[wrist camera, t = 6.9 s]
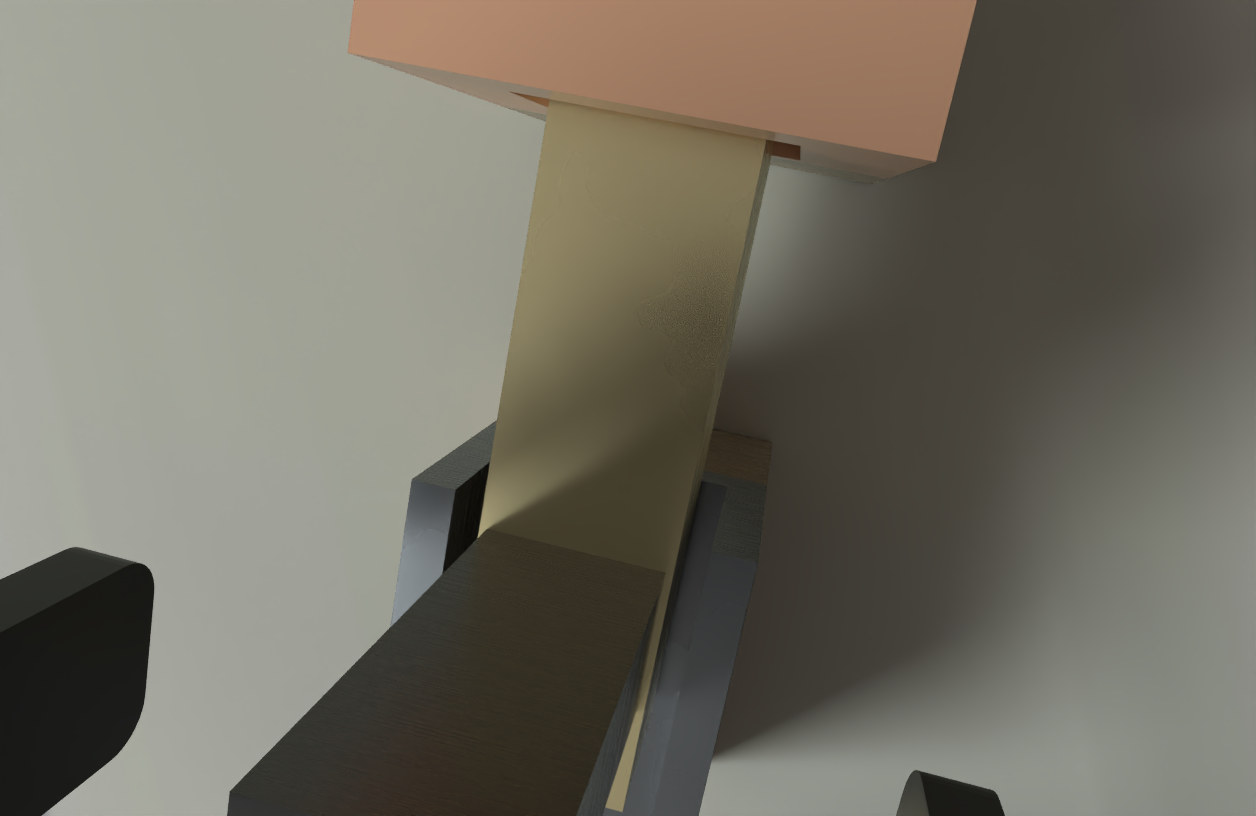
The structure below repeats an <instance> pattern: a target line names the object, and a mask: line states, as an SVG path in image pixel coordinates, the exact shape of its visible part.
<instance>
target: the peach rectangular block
mask: <svg viewBox="0 0 1256 816" xmlns="http://www.w3.org/2000/svg"><path fill="white" fill-rule="evenodd" d="M976 2H977V0H354V5H353V13H352V22H351V30H350V39H349V47H348V53H350V54H353V55H356V56H359V57H361V58H364V59H367V60H370V61H373V62H376V63H379V64H382V65H384V66H387V67H390V68H393V69H396V70H399V71H402V72H405V73H408V74H410V75H413V76H416V77H419V78H422V79H425V80H428V81H431V82H433V83H436V84H439V85H442V86H445V87H448V88H451V89H454V90H456V91H459V92H462V93H465V94H468V95H471V96H474V97H477V98H479V99H482V100H485V101H488V102H491V103H494V104H497V105H500V106H503V107H505V108H508V109H511V110H514V111H517V112H520V113H523V114H526V115H528V116H531V117H534V118H537V119H540V120H543V121H546V119H547V113H548V107H549V100H550V99H552V100H558V101H563V102H568V103H574V104H579V105H584V106H590V107H595V108H601V109H606V110H611V111H617V112H622V113H627V114H633V115H638V116H643V117H649V118H654V119H659V120H665V121H670V122H676V123H681V124H686V125H692V126H697V127H702V128H708V129H713V130H718V131H724V132H729V133H734V134H740V135H745V136H751V137H756V138H761V139H767V140H772V141H775V143H774V148H773V152H772V157H771V161H770V165H775V166H780V167H786V168H791V169H796V170H801V171H807V172H812V173H817V174H822V175H828V176H833V177H838V178H843V179H849V180H854V181H859V182H865V183H870V184H874V183H877V182H880V181H883V180H886V179H888V178H891V177H894V176H897V175H900V174H903V173H906V172H908V171H911V170H914V169H917V168H920V167H923V166H926V165H928V164H931V163H934V162H936V160H937V156H938V152H939V148H940V144H941V140H942V136H943V132H944V128H945V124H946V120H947V116H948V113H949V109H950V105H951V101H952V97H953V93H954V89H955V85H956V81H957V77H958V73H959V69H960V65H961V61H962V57H963V53H964V49H965V45H966V42H967V38H968V34H969V30H970V26H971V22H972V18H973V14H974V10H975V6H976Z"/></svg>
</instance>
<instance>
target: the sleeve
mask: <svg viewBox="0 0 1256 816" xmlns="http://www.w3.org/2000/svg"><path fill="white" fill-rule="evenodd" d="M496 424H497V421H495V422H494V423H492V424H491V425H489V426H488V427H486V428H485V429H484V430H482V431H481V432H479V433H478V434H476V435H475V436H474V437H472V438H471V439H469V440H468V441H466V442H465V443H463V444H462V445H461V446H459V447H458V448H456V449H455V450H453V451H452V452H451V453H449V454H448V455H446V456H445V457H443V458H442V459H441V460H439V461H438V462H436V463H435V464H433V465H432V466H430V467H429V468H428V469H426V470H425V471H423V472H422V473H420V474H419V475H418V476H416V477H415V478H413V479H412V482H411V489H410V496H409V503H408V510H407V517H406V524H405V531H404V537H403V544H402V551H401V558H400V565H399V572H398V579H397V585H396V592H395V599H394V606H393V613H392V620H391V626H392V625H393V624H394V623H395V622H396V621H397V620H398V619H399V618H400V617H401V616H402V615H403V614H404V613H405V612H406V611H407V610H408V609H409V608H410V607H411V606H412V605H413V604H414V603H415V602H416V601H417V600H418V599H419V598H420V597H421V596H422V595H423V594H424V593H425V592H426V591H427V589H428V588H429V587H430V586H431V585H432V584H433V583H434V582H435V581H436V580H437V579H438V578H439V577H440V576H441V575H442V574H443V573H444V572H445V571H446V570H447V569H448V568H449V567H450V566H451V565H452V564H453V563H454V562H455V561H456V560H457V559H458V558H459V557H460V556H461V555H462V554H463V553H464V552H465V551H466V550H467V549H468V548H469V547H470V546H471V545H472V544H473V543H474V541H475V540H476V539H477V538H478V533H479V527H480V521H481V515H482V509H483V503H484V497H485V491H486V485H487V479H488V472H489V466H490V460H491V454H492V448H493V442H494V436H495V430H496ZM771 446H772V442H768V441H764V440H759V439H755V438H751V437H746V436H742V435H737V434H733V433H728V432H724V431H719V430H715V429H713V430H712V434H711V439H710V444H709V448H708V453H707V458H706V462H705V467H704V471H703V476H702V481H701V485H700V490H699V495H698V499H697V504H696V508H695V513H694V518H693V522H692V527H691V532H690V536H689V541H688V545H687V550H686V555H685V559H684V564H683V569H682V573H681V578H680V582H679V587H678V592H677V596H676V601H675V606H674V610H673V615H672V619H671V624H670V629H669V633H668V638H667V643H666V647H665V652H664V657H663V661H662V666H661V670H660V675H659V680H658V684H657V689H656V694H655V698H654V703H653V707H652V712H651V717H650V720H649V723H648V727H647V730H646V734H645V737H644V740H643V744H642V747H641V751H640V754H639V757H638V761H637V764H636V768H635V771H634V775H633V778H632V781H631V785H630V788H629V792H628V795H627V798H626V802H625V805H624V809H623V812H620V811H617V810H613V809H609V808H606V807H605V809H604V812H603V816H699V811H700V807H701V803H702V798H703V794H704V790H705V786H706V781H707V777H708V773H709V769H710V764H711V760H712V756H713V752H714V747H715V743H716V739H717V735H718V730H719V726H720V722H721V717H722V713H723V709H724V705H725V700H726V696H727V692H728V688H729V683H730V679H731V675H732V671H733V666H734V662H735V658H736V654H737V649H738V645H739V641H740V636H741V632H742V628H743V624H744V619H745V615H746V611H747V607H748V602H749V598H750V594H751V590H752V585H753V581H754V577H755V573H756V568H757V564H758V557H759V548H760V540H761V531H762V523H763V514H764V506H765V497H766V489H767V480H768V472H769V463H770V455H771Z"/></svg>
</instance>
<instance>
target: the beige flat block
mask: <svg viewBox="0 0 1256 816" xmlns="http://www.w3.org/2000/svg"><path fill="white" fill-rule="evenodd" d="M774 143H775V141H772V140H767V139H761V138H756V137H751V136H745V135H740V134H734V133H729V132H724V131H718V130H713V129H708V128H702V127H697V126H692V125H686V124H681V123H676V122H670V121H665V120H659V119H654V118H649V117H643V116H638V115H633V114H627V113H622V112H617V111H611V110H606V109H601V108H595V107H590V106H584V105H579V104H574V103H568V102H563V101H558V100H552V99H550V100H549V107H548V113H547V119H546V125H545V131H544V137H543V143H542V149H541V155H540V161H539V168H538V174H537V180H536V186H535V192H534V198H533V204H532V210H531V216H530V222H529V228H528V235H527V241H526V247H525V253H524V259H523V265H522V271H521V277H520V283H519V289H518V296H517V302H516V308H515V314H514V320H513V326H512V332H511V338H510V344H509V350H508V357H507V363H506V369H505V375H504V381H503V387H502V393H501V399H500V405H499V411H498V418H497V424H496V430H495V436H494V442H493V448H492V454H491V460H490V466H489V472H488V479H487V485H486V491H485V497H484V503H483V509H482V515H481V521H480V527H479V533H478V538H477V539H476V540H475V541H474V543H473V544H472V545H471V546H470V547H469V548H468V549H467V550H466V551H465V552H464V553H463V554H462V555H461V556H460V557H459V558H458V559H457V560H456V561H455V562H454V563H453V564H452V565H451V566H450V567H449V568H448V569H447V570H446V571H445V572H444V573H443V574H442V575H441V576H440V577H439V578H438V579H437V580H436V581H435V582H434V583H433V584H432V585H431V586H430V587H429V588H428V589H427V591H426V592H425V593H424V594H423V595H422V596H421V597H420V598H419V599H418V600H417V601H416V602H415V603H414V604H413V605H412V606H411V607H410V608H409V609H408V610H407V611H406V612H405V613H404V614H403V615H402V616H401V617H400V618H399V619H398V620H397V621H396V622H395V623H394V624H393V625H392V626H391V627H390V628H389V629H388V630H387V631H386V632H385V633H384V634H383V635H382V636H381V638H380V639H379V640H378V641H377V642H376V643H375V644H374V645H373V646H372V647H371V648H370V649H369V650H368V651H367V652H366V653H365V654H364V655H363V656H362V657H361V658H360V659H359V660H358V661H357V662H356V663H355V664H354V665H353V666H352V667H351V668H350V669H349V670H348V671H347V672H346V673H345V674H344V675H343V676H342V677H341V678H340V679H339V680H338V681H337V682H336V683H335V685H334V686H333V687H332V688H331V689H330V690H329V691H328V692H327V693H326V694H325V695H324V696H323V697H322V698H321V699H320V700H319V701H318V702H317V703H316V704H315V705H314V706H313V707H312V708H311V709H310V710H309V711H308V712H307V713H306V714H305V715H304V716H303V717H302V718H301V719H300V720H299V721H298V722H297V723H296V724H295V725H294V726H293V727H292V728H291V729H290V730H289V732H288V733H287V734H286V735H285V736H284V737H283V738H282V739H281V740H280V741H279V742H278V743H277V744H276V745H275V746H274V747H273V748H272V749H271V750H270V751H269V752H268V753H267V754H266V755H265V756H264V757H263V758H262V759H261V760H260V761H259V762H258V763H257V764H256V765H255V766H254V767H253V768H252V769H251V770H250V771H249V772H248V773H247V774H246V775H245V776H244V777H243V779H242V780H241V781H240V782H239V783H238V784H237V785H236V786H235V787H234V788H233V789H232V790H231V791H230V795H229V804H228V813H227V816H603V812H604V809H605V807H606V808H609V809H613V810H617V811H620V812H623V809H624V805H625V802H626V798H627V795H628V792H629V788H630V785H631V781H632V778H633V775H634V771H635V768H636V764H637V761H638V757H639V754H640V751H641V747H642V744H643V740H644V737H645V734H646V730H647V727H648V723H649V720H650V717H651V712H652V707H653V703H654V698H655V694H656V689H657V684H658V680H659V675H660V670H661V666H662V661H663V657H664V652H665V647H666V643H667V638H668V633H669V629H670V624H671V619H672V615H673V610H674V606H675V601H676V596H677V592H678V587H679V582H680V578H681V573H682V569H683V564H684V559H685V555H686V550H687V545H688V541H689V536H690V532H691V527H692V522H693V518H694V513H695V508H696V504H697V499H698V495H699V490H700V485H701V481H702V476H703V471H704V467H705V462H706V458H707V453H708V448H709V444H710V439H711V434H712V430H713V425H714V421H715V416H716V411H717V407H718V402H719V397H720V393H721V388H722V384H723V379H724V374H725V370H726V365H727V360H728V356H729V351H730V347H731V342H732V337H733V333H734V328H735V323H736V319H737V314H738V310H739V305H740V300H741V296H742V291H743V286H744V282H745V277H746V273H747V268H748V263H749V259H750V254H751V249H752V245H753V240H754V235H755V231H756V226H757V222H758V217H759V212H760V208H761V203H762V198H763V194H764V189H765V185H766V180H767V175H768V171H769V166H770V161H771V157H772V152H773V148H774Z"/></svg>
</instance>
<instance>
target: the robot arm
mask: <svg viewBox="0 0 1256 816" xmlns="http://www.w3.org/2000/svg"><path fill="white" fill-rule="evenodd" d="M153 599H154V580H153V576H152V573H151V571H150V570H149V568H148V567H147V566H145V565H143V564H141V563H137V562H133V561H129V560H126V559H122V558H118V557H114V556H110V555H107V554H103V553H99V552H95V551H91V550H88V549H84V548H79V547H74V548H69V549H66V550H64V551H61V552H59V553H57V554H55V555H53V556H51V557H48V558H46V559H44V560H42V561H40V562H38V563H35V564H33V565H31V566H29V567H27V568H25V569H22V570H20V571H18V572H16V573H14V574H11V575H9V576H7V577H5V578H3V579H1V580H0V816H42V815H43V814H44V813H45V812H47V811H48V810H49V809H50V808H52V807H53V806H54V805H55V804H57V803H58V802H59V801H60V800H62V799H63V798H64V797H65V796H67V795H68V794H69V793H71V792H72V791H73V790H74V789H76V788H77V787H78V786H79V785H81V784H82V783H83V782H84V781H86V780H87V779H88V778H89V777H91V776H92V775H93V774H94V773H96V772H97V771H98V770H99V769H101V768H102V767H103V766H104V765H106V764H107V763H108V762H109V761H111V760H112V759H113V758H114V757H115V756H116V755H117V754H118V753H119V752H120V751H121V750H122V748H123V747H124V746H125V744H126V743H127V741H128V740H129V738H130V737H131V735H132V733H133V731H134V729H135V727H136V725H137V723H138V721H139V718H140V715H141V712H142V709H143V705H144V699H145V691H146V679H147V668H148V656H149V645H150V634H151V622H152V611H153ZM896 816H1005V815H1004V812H1003V809H1002V806H1001V803H1000V800H999V798H998V795H997V794H996V793H995V791H993V790H990V789H986V788H982V787H978V786H975V785H971V784H967V783H963V782H959V781H956V780H952V779H948V778H944V777H941V776H937V775H933V774H929V773H925V772H922V771H918V770H915V771H913V772H912V773H911V775H910V776H909V778H908V780H907V782H906V785H905V788H904V791H903V794H902V797H901V801H900V804H899V808H898V811H897V815H896Z"/></svg>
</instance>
